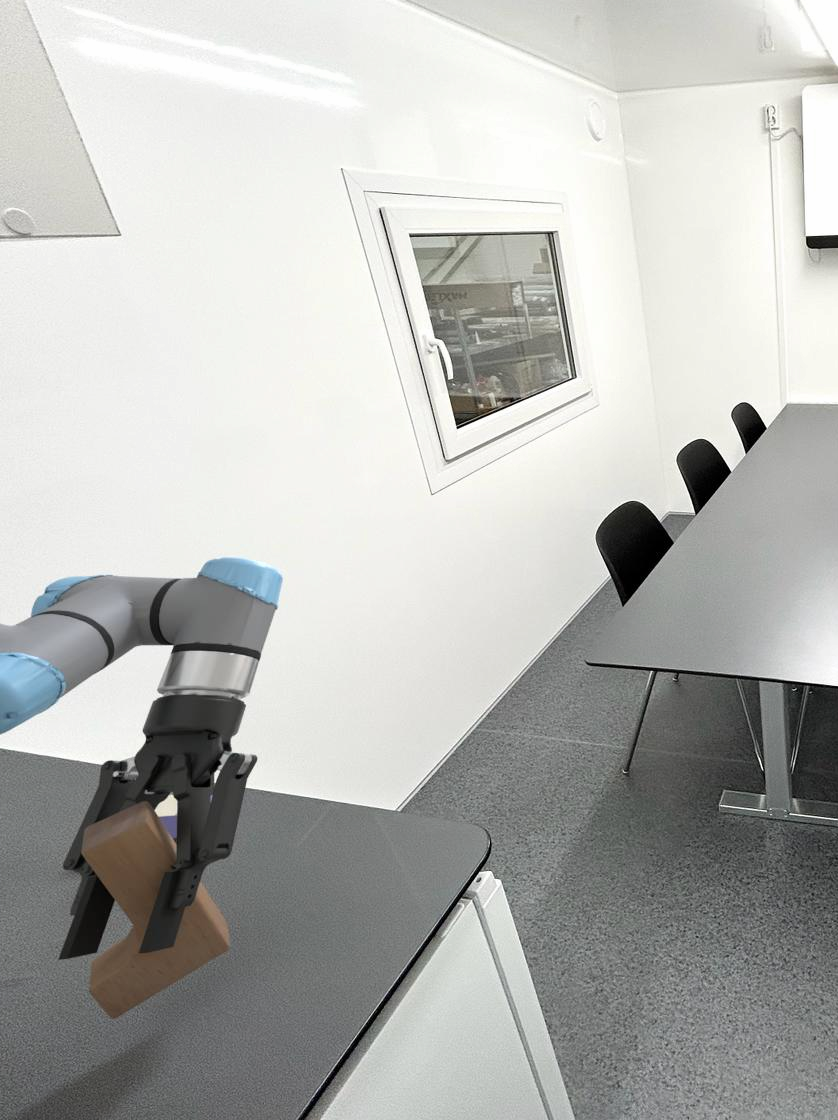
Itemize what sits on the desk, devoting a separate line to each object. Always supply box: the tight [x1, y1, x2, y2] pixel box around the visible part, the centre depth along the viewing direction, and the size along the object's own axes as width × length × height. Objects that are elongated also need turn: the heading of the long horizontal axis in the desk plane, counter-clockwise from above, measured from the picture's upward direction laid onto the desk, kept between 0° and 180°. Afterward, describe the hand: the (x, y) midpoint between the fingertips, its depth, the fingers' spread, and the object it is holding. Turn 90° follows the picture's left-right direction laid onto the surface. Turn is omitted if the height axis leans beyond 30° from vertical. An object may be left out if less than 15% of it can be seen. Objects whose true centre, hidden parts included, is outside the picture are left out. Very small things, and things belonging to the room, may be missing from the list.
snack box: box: [155, 794, 213, 840], centre depth 87 cm, size 10×4×4 cm, turn 94°
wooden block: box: [81, 801, 231, 1020], centre depth 60 cm, size 9×4×18 cm, turn 136°
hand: (117, 952), depth 58 cm, fingers closed on wooden block, 6 cm apart
